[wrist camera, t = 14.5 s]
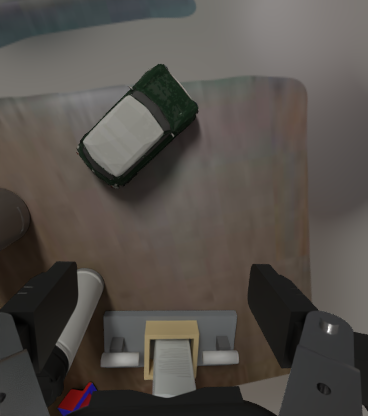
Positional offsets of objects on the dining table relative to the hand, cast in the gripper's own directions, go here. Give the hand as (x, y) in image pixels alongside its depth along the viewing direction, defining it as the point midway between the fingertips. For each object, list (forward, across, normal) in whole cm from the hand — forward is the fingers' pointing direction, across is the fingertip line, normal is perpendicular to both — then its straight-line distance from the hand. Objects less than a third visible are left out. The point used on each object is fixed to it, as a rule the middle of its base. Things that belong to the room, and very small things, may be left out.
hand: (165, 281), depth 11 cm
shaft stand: (+30, -2, +29) cm, 42 cm away
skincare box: (+29, -2, +29) cm, 41 cm away
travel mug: (+30, +13, +18) cm, 38 cm away
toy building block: (+30, +15, +42) cm, 54 cm away
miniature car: (+31, +4, -8) cm, 32 cm away
